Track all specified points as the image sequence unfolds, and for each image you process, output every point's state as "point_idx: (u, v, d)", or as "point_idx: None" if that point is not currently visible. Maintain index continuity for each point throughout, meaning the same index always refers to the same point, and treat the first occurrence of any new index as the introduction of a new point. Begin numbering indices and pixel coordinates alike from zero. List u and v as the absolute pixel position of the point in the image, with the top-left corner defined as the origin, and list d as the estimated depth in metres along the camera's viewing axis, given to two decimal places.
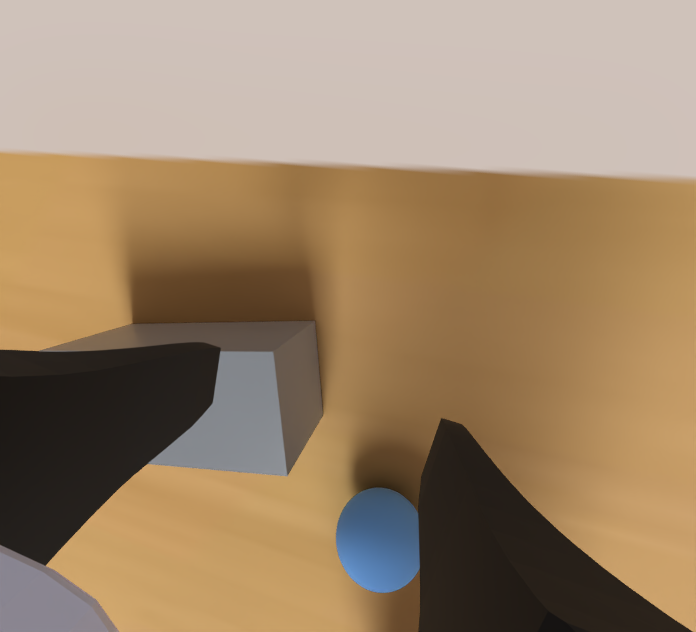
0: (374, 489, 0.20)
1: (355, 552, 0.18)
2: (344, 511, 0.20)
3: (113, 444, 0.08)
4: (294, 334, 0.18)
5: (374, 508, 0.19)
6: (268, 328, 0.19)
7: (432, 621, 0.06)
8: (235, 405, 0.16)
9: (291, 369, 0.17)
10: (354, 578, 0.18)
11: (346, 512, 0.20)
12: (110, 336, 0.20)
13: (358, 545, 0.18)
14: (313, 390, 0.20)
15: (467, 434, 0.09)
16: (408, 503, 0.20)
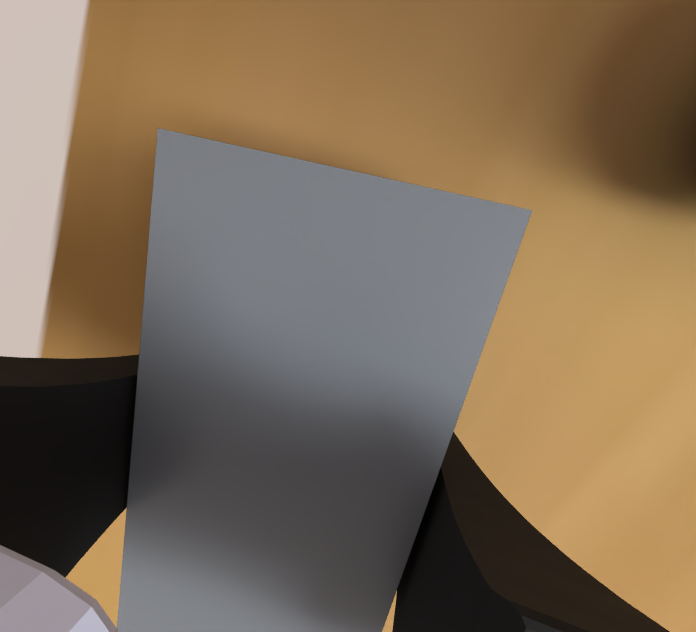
0: None
1: None
2: None
3: None
4: None
5: None
6: None
7: (404, 610, 0.06)
8: (277, 293, 0.06)
9: None
10: None
11: None
12: None
13: None
14: None
15: None
16: None
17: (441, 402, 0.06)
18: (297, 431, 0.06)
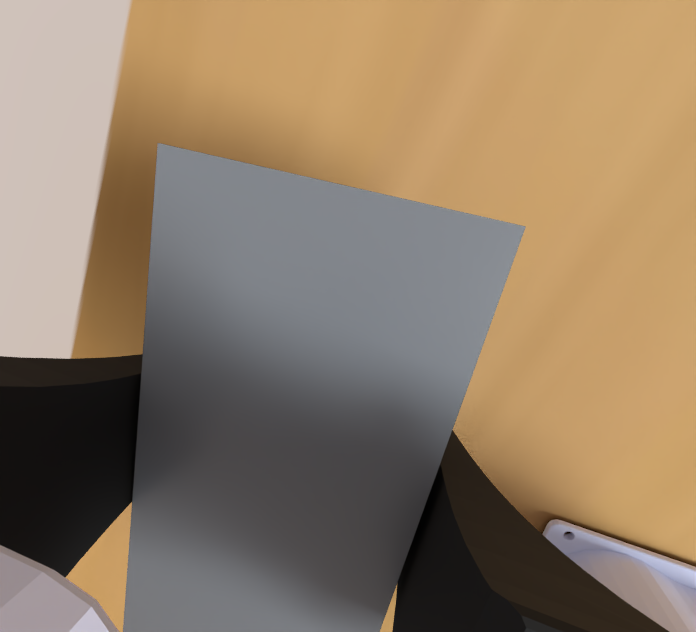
0: None
1: None
2: None
3: (133, 452, 0.08)
4: None
5: None
6: None
7: (405, 610, 0.06)
8: (276, 304, 0.06)
9: None
10: None
11: None
12: None
13: None
14: None
15: None
16: None
17: (437, 411, 0.06)
18: (297, 438, 0.07)
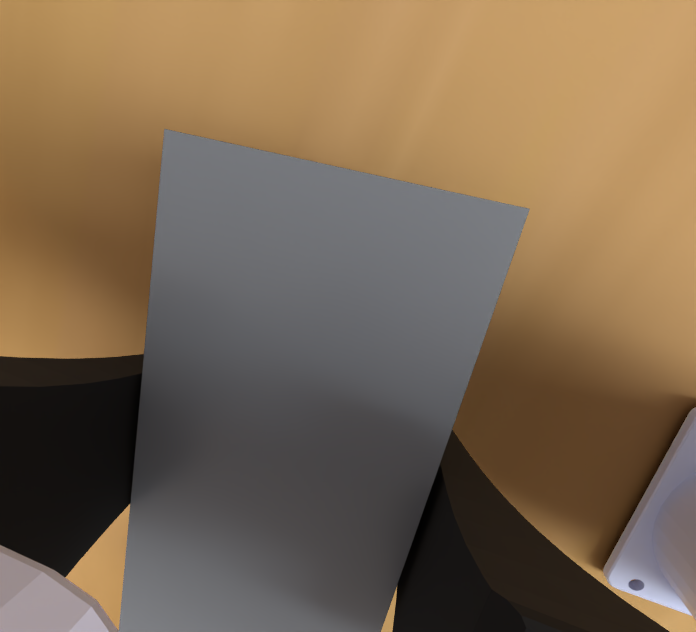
0: None
1: None
2: None
3: (133, 451, 0.08)
4: None
5: None
6: None
7: (404, 610, 0.06)
8: (281, 290, 0.06)
9: None
10: None
11: None
12: None
13: None
14: None
15: None
16: None
17: (441, 397, 0.06)
18: (300, 426, 0.07)
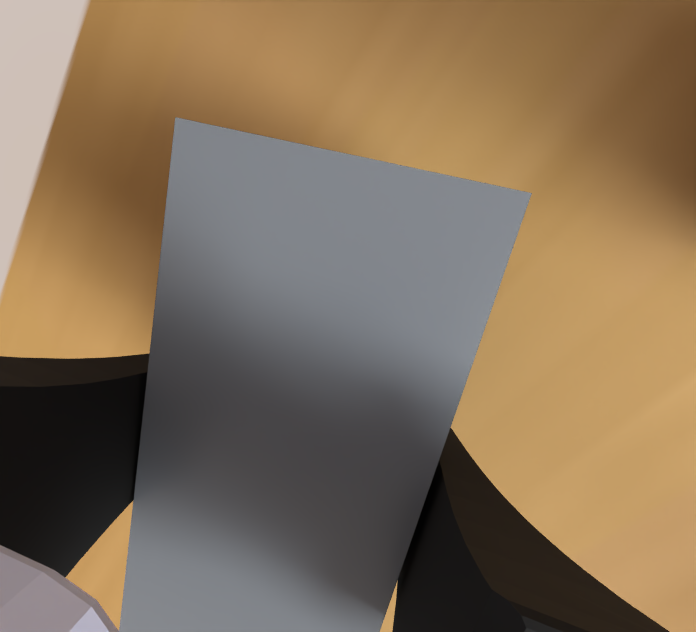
0: None
1: None
2: None
3: (133, 451, 0.08)
4: None
5: None
6: None
7: (404, 610, 0.06)
8: (288, 275, 0.06)
9: None
10: None
11: None
12: None
13: None
14: None
15: None
16: None
17: (445, 380, 0.06)
18: (305, 411, 0.07)
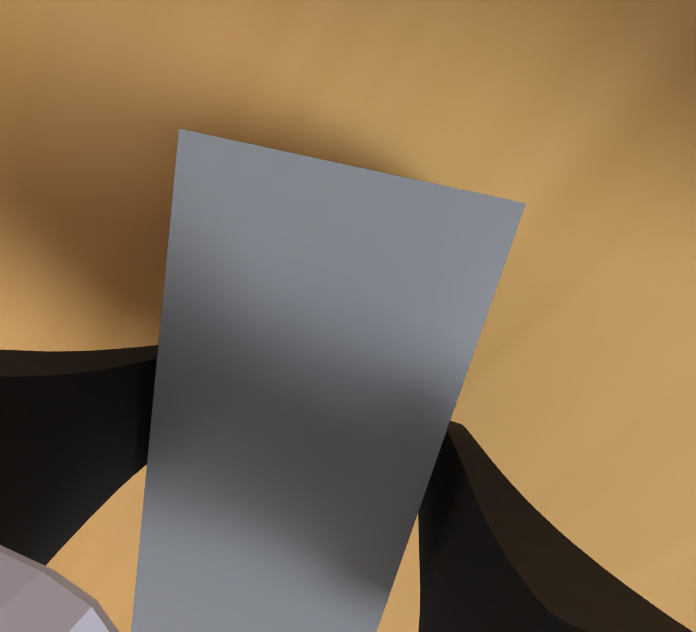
0: None
1: None
2: None
3: (113, 444, 0.08)
4: None
5: None
6: None
7: (432, 621, 0.06)
8: (290, 281, 0.06)
9: None
10: None
11: None
12: None
13: None
14: None
15: (467, 434, 0.09)
16: None
17: (442, 382, 0.06)
18: (307, 412, 0.07)
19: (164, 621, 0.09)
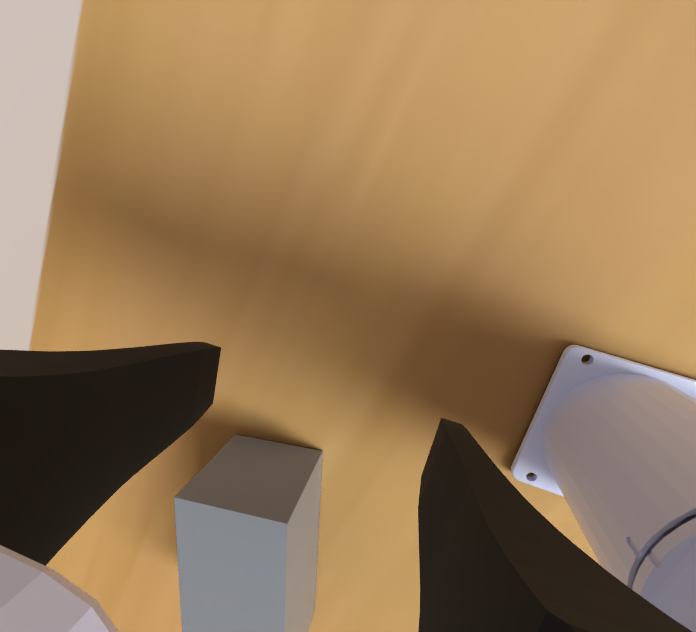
0: None
1: None
2: None
3: (113, 444, 0.08)
4: None
5: None
6: None
7: (432, 621, 0.06)
8: (221, 544, 0.18)
9: (220, 480, 0.19)
10: None
11: None
12: None
13: None
14: (280, 457, 0.21)
15: (467, 434, 0.09)
16: None
17: (279, 576, 0.17)
18: (237, 587, 0.18)
19: None
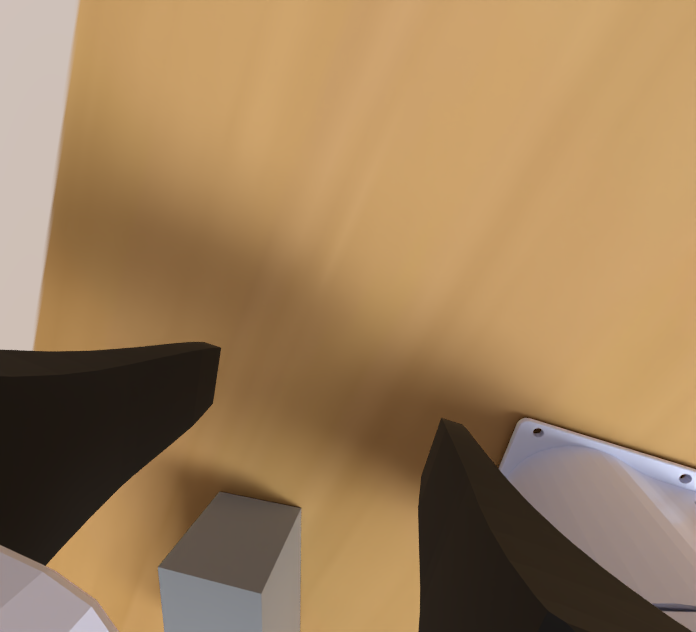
0: None
1: None
2: None
3: (113, 444, 0.08)
4: (191, 527, 0.22)
5: None
6: None
7: (432, 621, 0.06)
8: (202, 610, 0.19)
9: (202, 545, 0.20)
10: None
11: None
12: None
13: None
14: (260, 516, 0.22)
15: (467, 434, 0.09)
16: None
17: None
18: None
19: None
